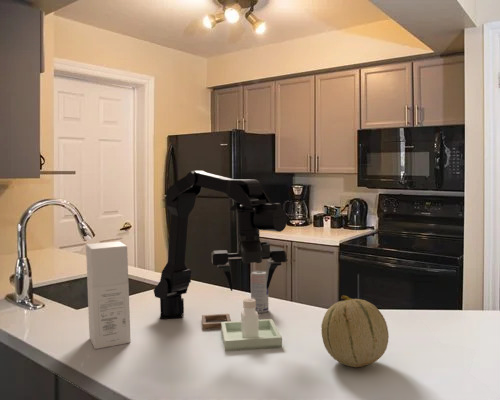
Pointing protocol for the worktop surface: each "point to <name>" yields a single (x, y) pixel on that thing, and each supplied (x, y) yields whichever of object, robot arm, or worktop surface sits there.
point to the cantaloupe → (354, 332)
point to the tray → (236, 341)
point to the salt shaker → (249, 319)
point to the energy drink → (259, 291)
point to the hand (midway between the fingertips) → (249, 289)
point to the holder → (213, 318)
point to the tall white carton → (108, 294)
